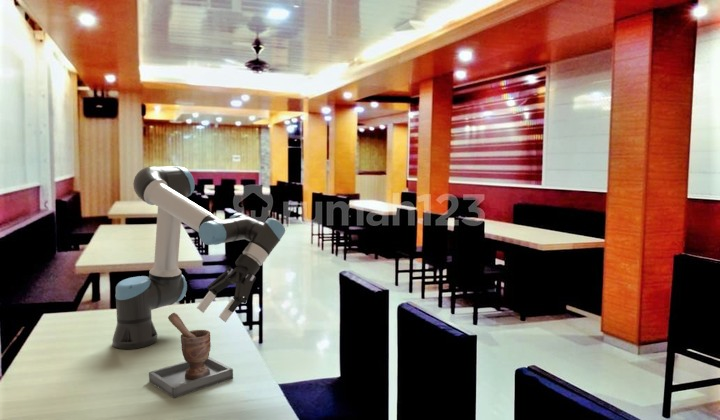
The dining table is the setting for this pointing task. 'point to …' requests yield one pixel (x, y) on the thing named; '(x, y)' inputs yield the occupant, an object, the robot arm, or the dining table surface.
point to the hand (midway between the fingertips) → (210, 314)
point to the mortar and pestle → (193, 348)
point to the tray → (178, 385)
